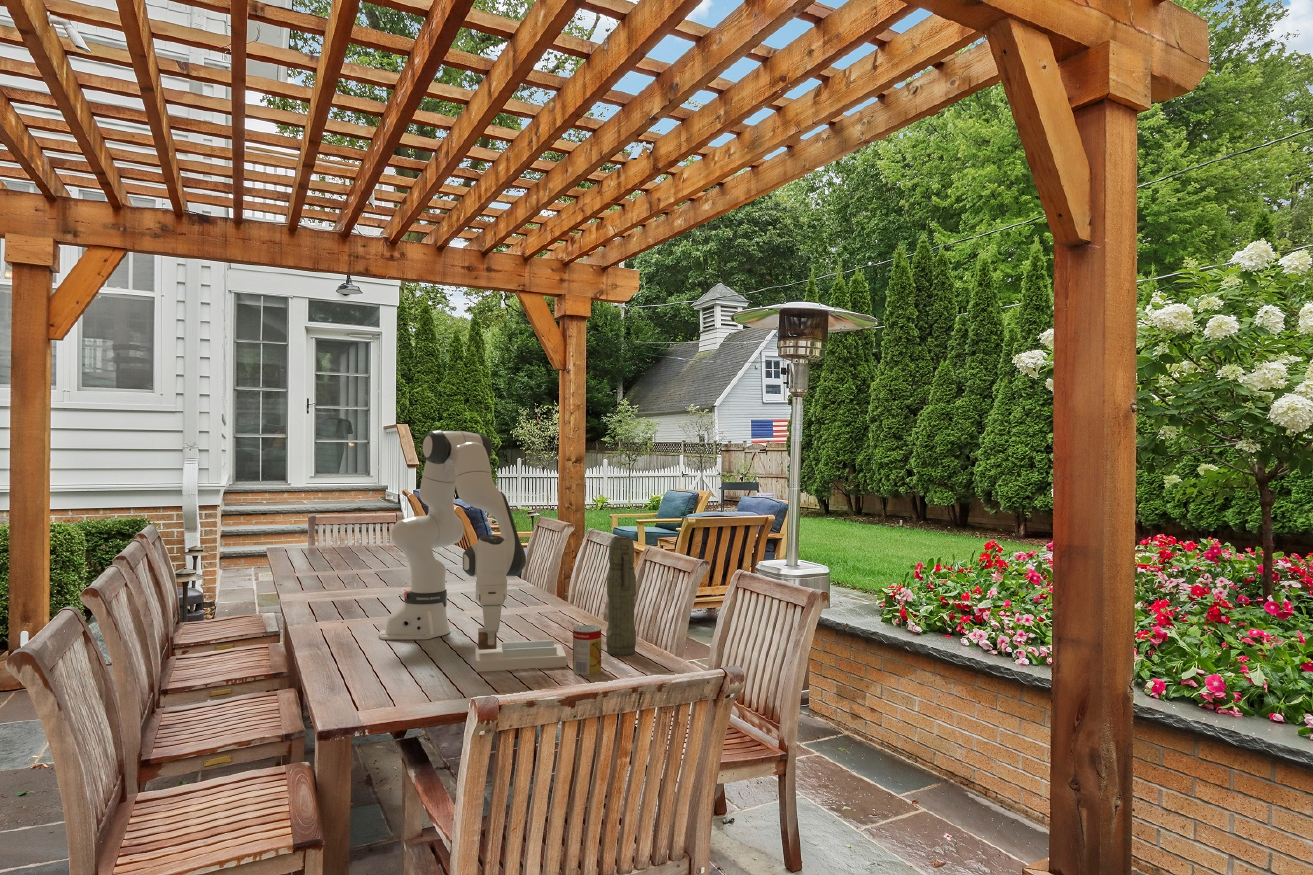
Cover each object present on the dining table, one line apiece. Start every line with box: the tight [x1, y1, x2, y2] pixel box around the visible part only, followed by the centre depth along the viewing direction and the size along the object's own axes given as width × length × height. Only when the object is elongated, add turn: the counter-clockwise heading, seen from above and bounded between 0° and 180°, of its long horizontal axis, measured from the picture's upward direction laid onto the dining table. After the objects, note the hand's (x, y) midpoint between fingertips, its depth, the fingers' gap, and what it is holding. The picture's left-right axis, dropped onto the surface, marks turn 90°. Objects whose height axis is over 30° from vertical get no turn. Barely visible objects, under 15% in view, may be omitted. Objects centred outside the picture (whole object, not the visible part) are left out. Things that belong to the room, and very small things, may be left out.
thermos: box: [605, 535, 637, 657], centre depth 246 cm, size 9×12×35 cm
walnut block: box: [477, 627, 498, 650], centre depth 232 cm, size 5×5×5 cm
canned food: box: [572, 624, 602, 676], centre depth 226 cm, size 8×8×12 cm
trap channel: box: [474, 639, 567, 673], centre depth 234 cm, size 25×14×5 cm, turn 103°
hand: (490, 641), depth 233 cm, fingers closed on walnut block, 5 cm apart
